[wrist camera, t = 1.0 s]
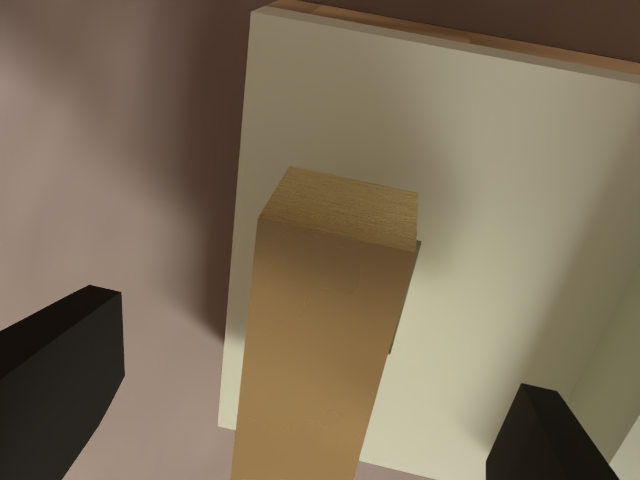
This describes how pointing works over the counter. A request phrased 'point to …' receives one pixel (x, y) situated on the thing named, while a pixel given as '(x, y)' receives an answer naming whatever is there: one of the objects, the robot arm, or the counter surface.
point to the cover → (462, 226)
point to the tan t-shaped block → (320, 323)
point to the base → (459, 35)
